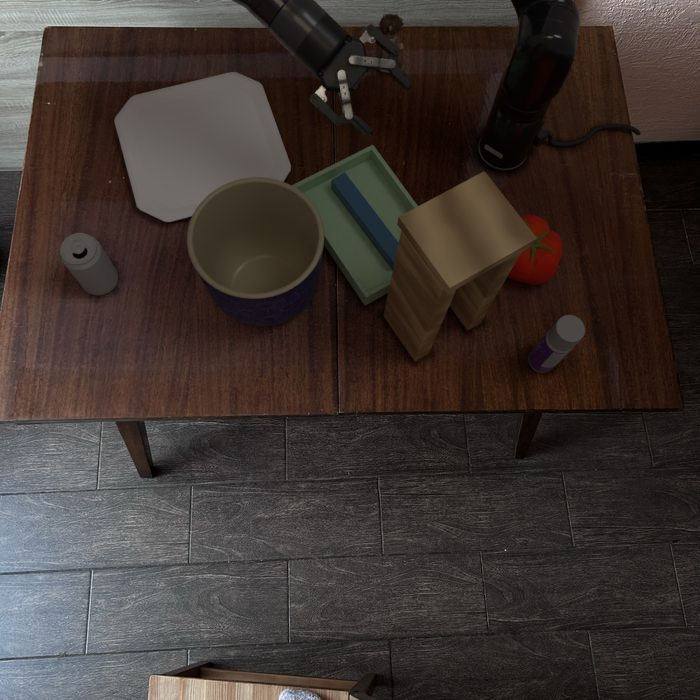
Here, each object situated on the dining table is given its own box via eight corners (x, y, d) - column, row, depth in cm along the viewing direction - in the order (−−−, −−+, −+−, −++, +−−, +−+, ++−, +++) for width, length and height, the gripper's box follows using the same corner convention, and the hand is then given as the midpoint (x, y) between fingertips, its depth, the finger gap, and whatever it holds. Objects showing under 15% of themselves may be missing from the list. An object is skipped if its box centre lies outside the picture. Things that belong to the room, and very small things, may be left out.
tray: (371, 156, 132) (373, 144, 129) (447, 259, 125) (450, 250, 122) (291, 196, 129) (290, 185, 125) (364, 305, 122) (365, 297, 118)
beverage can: (90, 303, 120) (65, 272, 109) (77, 273, 122) (51, 239, 111) (125, 288, 121) (104, 256, 110) (111, 258, 123) (90, 224, 112)
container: (525, 348, 120) (552, 315, 106) (552, 346, 120) (582, 313, 106) (530, 374, 118) (558, 343, 104) (557, 372, 119) (588, 341, 105)
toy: (399, 81, 138) (407, 23, 124) (372, 76, 138) (377, 17, 124) (404, 57, 140) (413, -3, 126) (377, 52, 141) (383, -9, 126)
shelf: (445, 273, 124) (484, 170, 94) (484, 327, 121) (537, 238, 91) (380, 310, 121) (398, 216, 91) (417, 366, 118) (449, 288, 88)
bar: (344, 181, 129) (345, 172, 127) (406, 262, 124) (408, 254, 121) (331, 188, 129) (331, 179, 126) (392, 270, 123) (394, 263, 121)
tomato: (474, 243, 127) (485, 219, 119) (535, 222, 128) (549, 198, 120) (504, 303, 123) (517, 282, 115) (566, 281, 125) (583, 259, 117)
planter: (191, 257, 124) (168, 200, 106) (300, 221, 127) (296, 159, 109) (228, 360, 117) (211, 317, 100) (341, 319, 121) (344, 271, 103)
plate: (256, 73, 138) (255, 65, 136) (299, 193, 129) (298, 186, 127) (111, 107, 134) (108, 100, 132) (145, 234, 125) (142, 228, 123)
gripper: (276, 69, 97) (363, 148, 101) (343, -14, 95) (428, 70, 100) (276, 75, 105) (356, 148, 109) (338, -2, 103) (417, 76, 107)
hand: (390, 111), depth 104 cm, fingers open, 8 cm apart
